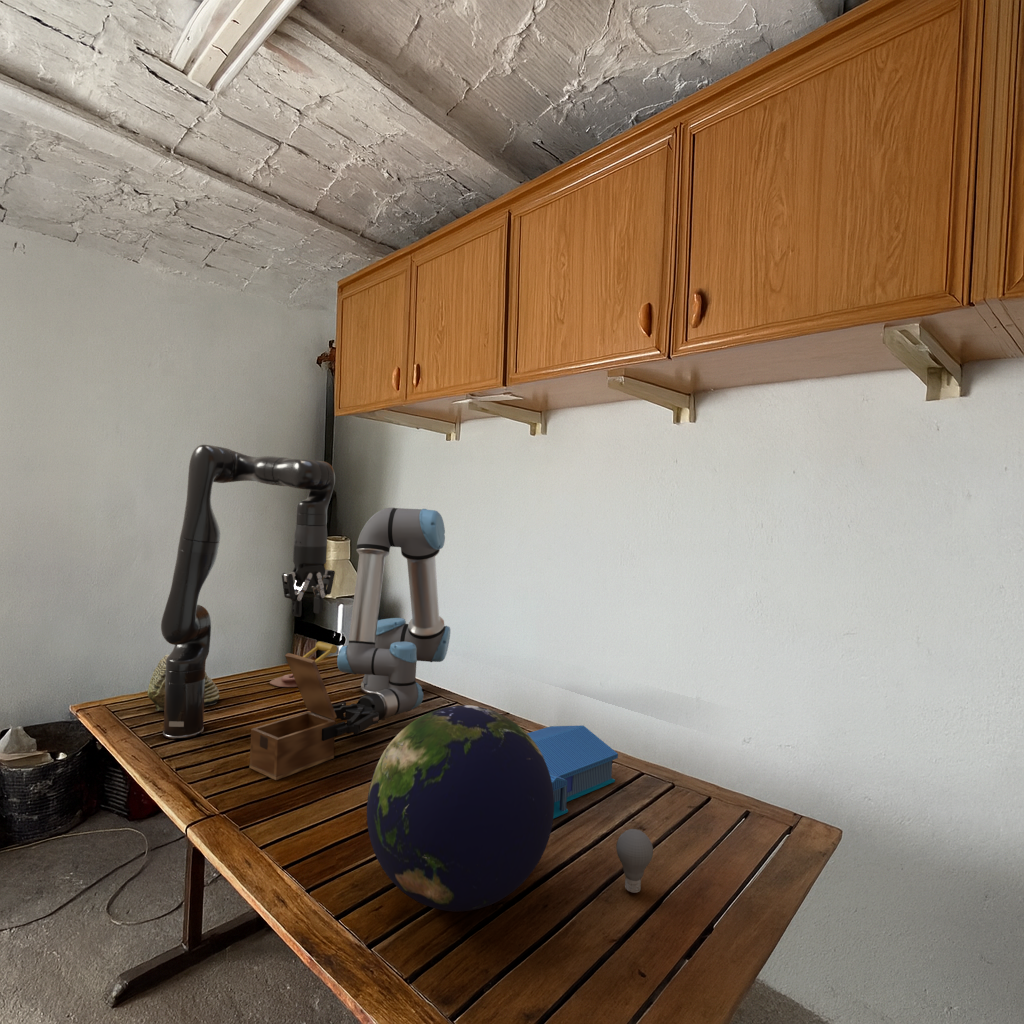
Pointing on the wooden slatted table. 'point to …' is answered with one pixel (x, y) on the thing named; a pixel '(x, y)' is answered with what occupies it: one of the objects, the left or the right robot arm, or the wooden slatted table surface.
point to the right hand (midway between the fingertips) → (308, 729)
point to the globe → (460, 808)
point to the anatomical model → (284, 681)
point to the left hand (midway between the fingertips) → (307, 614)
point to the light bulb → (634, 857)
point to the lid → (312, 680)
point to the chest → (290, 745)
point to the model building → (574, 762)
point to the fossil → (158, 687)
